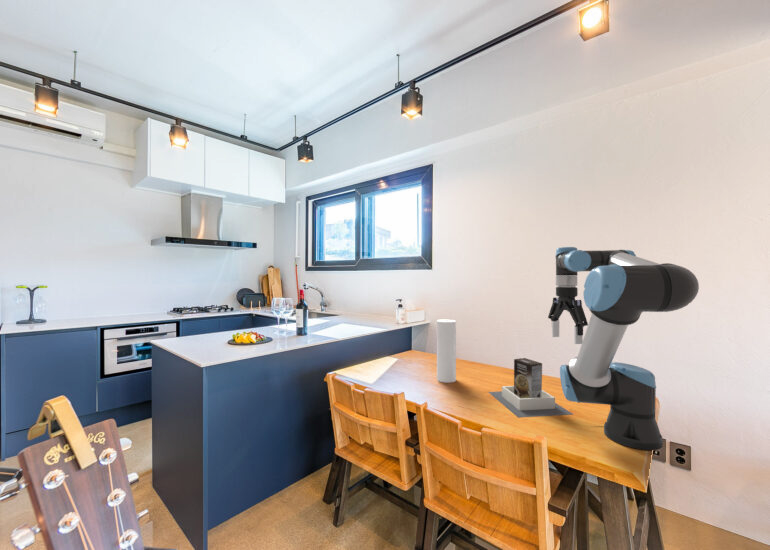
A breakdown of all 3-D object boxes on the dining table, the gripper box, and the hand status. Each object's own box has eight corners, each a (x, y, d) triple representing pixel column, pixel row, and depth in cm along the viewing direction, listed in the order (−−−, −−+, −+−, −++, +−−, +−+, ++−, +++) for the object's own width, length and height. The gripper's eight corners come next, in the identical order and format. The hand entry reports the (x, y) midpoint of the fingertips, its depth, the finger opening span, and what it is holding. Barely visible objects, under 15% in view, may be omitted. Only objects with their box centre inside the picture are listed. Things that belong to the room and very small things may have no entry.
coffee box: (513, 397, 138) (513, 359, 138) (524, 395, 140) (524, 357, 140) (530, 405, 129) (530, 364, 129) (542, 402, 132) (542, 362, 132)
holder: (555, 408, 129) (555, 397, 129) (519, 410, 127) (519, 399, 127) (534, 394, 143) (534, 384, 143) (501, 396, 141) (501, 386, 141)
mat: (573, 415, 123) (573, 414, 123) (518, 418, 121) (518, 417, 121) (534, 390, 149) (534, 389, 149) (488, 392, 147) (488, 391, 147)
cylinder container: (454, 376, 169) (454, 318, 169) (456, 382, 160) (456, 321, 160) (436, 376, 170) (436, 318, 170) (437, 382, 161) (437, 321, 161)
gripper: (599, 287, 118) (599, 346, 118) (555, 285, 143) (555, 334, 143) (579, 288, 117) (579, 347, 118) (539, 285, 142) (539, 334, 142)
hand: (566, 340), depth 130 cm, fingers open, 13 cm apart
